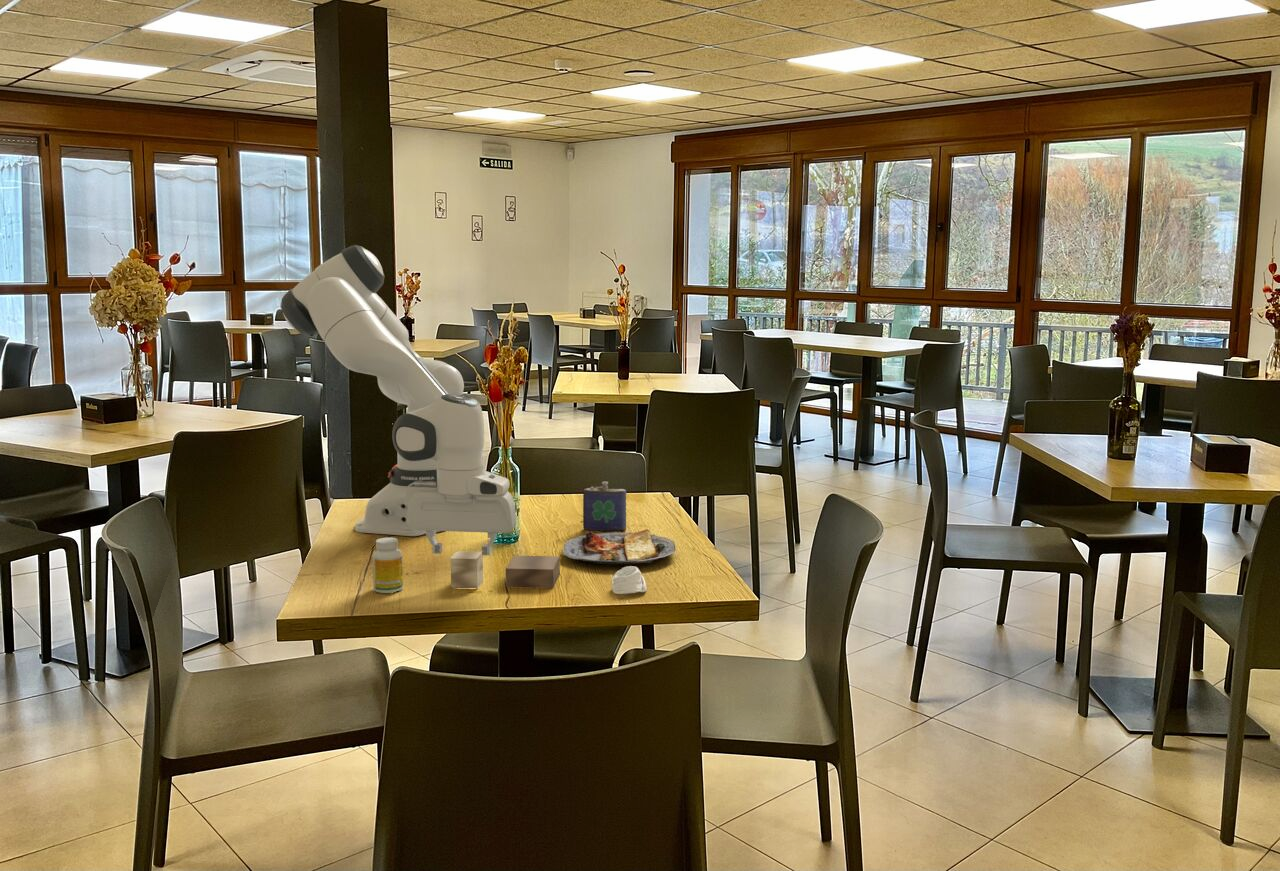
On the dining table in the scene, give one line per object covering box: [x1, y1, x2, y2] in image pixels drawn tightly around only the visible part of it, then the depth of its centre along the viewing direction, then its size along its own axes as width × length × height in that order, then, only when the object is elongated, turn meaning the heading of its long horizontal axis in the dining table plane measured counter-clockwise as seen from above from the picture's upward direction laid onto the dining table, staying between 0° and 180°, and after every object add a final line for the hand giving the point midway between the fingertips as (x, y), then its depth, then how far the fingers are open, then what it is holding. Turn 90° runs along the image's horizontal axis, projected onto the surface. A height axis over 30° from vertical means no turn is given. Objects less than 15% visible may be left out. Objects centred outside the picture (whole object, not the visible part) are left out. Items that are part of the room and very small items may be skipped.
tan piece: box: [449, 550, 484, 590], centre depth 201 cm, size 5×5×6 cm
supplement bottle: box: [372, 537, 404, 594], centre depth 198 cm, size 5×5×10 cm
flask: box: [582, 481, 627, 533], centre depth 243 cm, size 10×3×12 cm, turn 88°
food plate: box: [562, 529, 676, 565], centre depth 223 cm, size 25×23×4 cm
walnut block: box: [505, 554, 561, 589], centre depth 205 cm, size 9×9×4 cm
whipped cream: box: [611, 565, 648, 595], centre depth 199 cm, size 8×7×5 cm
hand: (462, 554), depth 200 cm, fingers open, 8 cm apart
